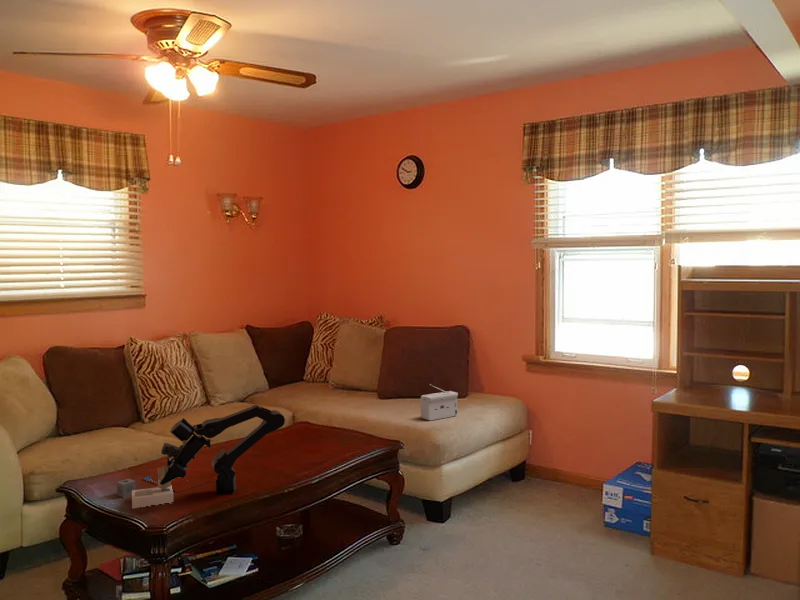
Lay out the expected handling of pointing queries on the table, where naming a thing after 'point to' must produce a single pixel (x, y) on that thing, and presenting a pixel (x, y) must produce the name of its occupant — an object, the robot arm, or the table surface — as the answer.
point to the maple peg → (161, 474)
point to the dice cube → (125, 487)
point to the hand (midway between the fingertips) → (160, 481)
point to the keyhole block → (151, 497)
